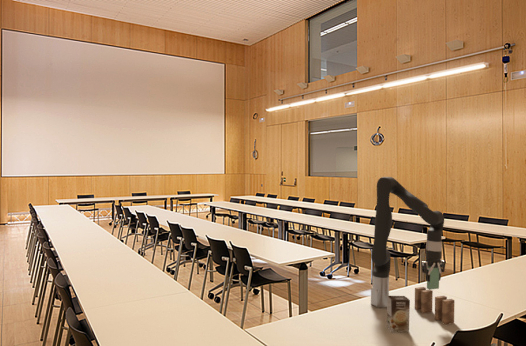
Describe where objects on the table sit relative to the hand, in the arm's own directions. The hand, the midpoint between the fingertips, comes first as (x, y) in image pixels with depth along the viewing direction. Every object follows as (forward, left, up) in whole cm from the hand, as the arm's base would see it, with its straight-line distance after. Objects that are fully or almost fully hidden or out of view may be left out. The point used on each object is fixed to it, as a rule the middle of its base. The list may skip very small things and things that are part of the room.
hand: (433, 280), depth 195 cm
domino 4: (+5, 0, -21) cm, 22 cm away
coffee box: (-25, -3, -21) cm, 33 cm away
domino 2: (+5, +10, -21) cm, 24 cm away
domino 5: (+5, -5, -21) cm, 23 cm away
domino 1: (+5, +15, -21) cm, 27 cm away
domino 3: (0, 0, -4) cm, 4 cm away
